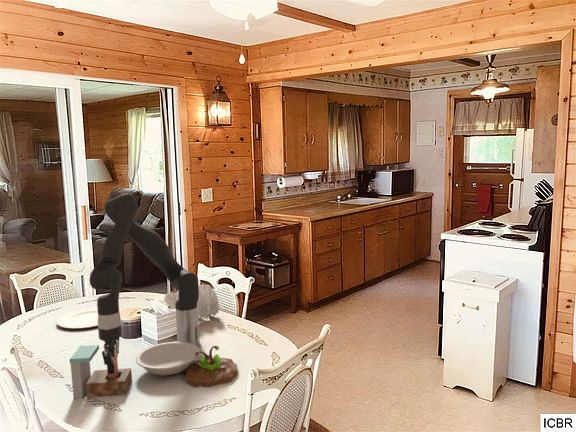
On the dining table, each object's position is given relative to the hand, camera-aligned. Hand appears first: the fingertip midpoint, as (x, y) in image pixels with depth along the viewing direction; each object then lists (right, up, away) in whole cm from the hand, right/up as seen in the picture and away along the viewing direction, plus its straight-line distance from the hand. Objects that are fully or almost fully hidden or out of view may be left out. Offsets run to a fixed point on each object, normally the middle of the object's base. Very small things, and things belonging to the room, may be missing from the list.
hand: (112, 370), depth 168 cm
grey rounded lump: (+16, +2, +68) cm, 70 cm away
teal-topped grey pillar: (-9, -7, 0) cm, 11 cm away
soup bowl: (+16, -5, +15) cm, 22 cm away
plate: (-39, +2, +72) cm, 82 cm away
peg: (0, -4, +1) cm, 4 cm away
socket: (-1, -7, +1) cm, 7 cm away
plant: (+34, -5, +11) cm, 36 cm away
